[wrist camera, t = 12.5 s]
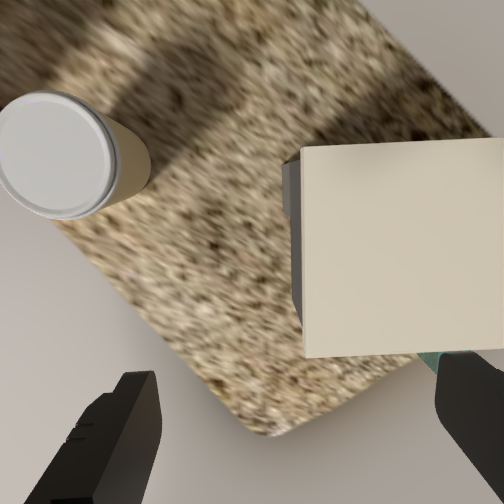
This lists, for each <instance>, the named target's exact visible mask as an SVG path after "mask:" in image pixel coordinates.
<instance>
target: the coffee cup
mask: <svg viewBox="0 0 504 504" xmlns="http://www.w3.org/2000/svg"><path fill="white" fill-rule="evenodd" d="M150 173H151V159H150V155H149V152H148V150H147V148H146V146H145V144H144V143H143V142H142V140H141V139H140V138H139V137H138V136H137V135H136V134H134V133H133V132H132V131H130V130H129V129H127V128H126V127H124V126H122V125H121V124H119V123H117V122H116V121H114V120H112V119H111V118H109V117H108V116H106V115H104V114H102V113H101V112H99V111H97V110H96V109H94V108H93V107H92V106H91V105H89V104H88V103H86V102H85V101H83V100H81V99H80V98H78V97H76V96H73V95H71V94H68V93H64V92H60V91H54V90H40V91H34V92H31V93H27V94H25V95H23V96H21V97H19V98H17V99H15V100H13V101H12V102H10V103H9V104H8V105H7V106H6V107H5V108H4V109H3V110H2V111H1V112H0V183H1V184H2V186H3V187H4V189H5V190H6V191H7V192H8V193H9V195H10V196H11V197H13V199H15V200H16V201H17V202H18V203H20V204H21V205H22V206H24V207H25V208H27V209H29V210H31V211H32V212H34V213H36V214H39V215H41V216H44V217H47V218H51V219H56V220H74V219H79V218H83V217H86V216H88V215H91V214H93V213H94V212H96V211H98V210H100V209H103V208H106V207H108V206H111V205H113V204H116V203H118V202H120V201H123V200H125V199H128V198H130V197H132V196H134V195H136V194H137V193H138V192H140V191H141V190H142V189H143V188H144V186H145V185H146V183H147V181H148V179H149V177H150Z"/></svg>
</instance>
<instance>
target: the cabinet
mask: <svg viewBox="0 0 504 504" xmlns="http://www.w3.org/2000/svg"><path fill="white" fill-rule="evenodd" d="M300 151H301V159H300V160H296V161H293V162H290V163H286V164H283V165H282V190H283V211H284V212H285V213H286V214H287V215H288V216H289V217H290V222H291V273H292V300H293V303H294V305H295V308H296V311H297V314H298V317H299V319H300V322H301V325H302V328H303V351H304V354H305V357H306V358H322V357H342V356H362V355H382V354H403V353H423V352H443V351H463V350H483V349H504V137H496V138H476V139H455V140H434V141H414V142H393V143H373V144H352V145H331V146H311V147H303V148H301V149H300Z"/></svg>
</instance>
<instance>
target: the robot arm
mask: <svg viewBox="0 0 504 504" xmlns="http://www.w3.org/2000/svg"><path fill="white" fill-rule="evenodd" d="M435 408H436V412H437V415H438V418H439V420H440V422H441V423H442V425H443V426H444V428H445V429H446V430H447V431H448V433H449V434H450V435H451V436H452V438H453V439H454V440H455V442H456V443H457V444H458V446H459V447H460V448H461V449H462V451H463V452H464V453H465V455H466V456H467V457H468V458H469V460H470V461H471V462H472V463H473V465H474V466H475V467H476V468H477V470H478V471H479V472H480V474H481V475H482V476H483V478H484V479H485V480H486V481H487V483H488V484H489V485H490V487H491V488H492V489H493V491H494V492H495V493H496V495H497V496H498V497H499V498H500V500H501V501H502V502H503V503H504V372H503V371H501V370H499V369H496V368H494V367H493V366H492V365H490V364H489V363H488V362H487V361H485V360H484V359H483V358H482V357H481V356H479V355H478V354H477V353H475V352H472V351H467V352H452V353H443V354H442V355H441V356H440V358H439V363H438V373H437V383H436V392H435ZM161 433H162V415H161V408H160V402H159V395H158V388H157V381H156V376H155V373H154V371H138V372H125V373H124V374H123V375H122V377H121V379H120V380H119V382H118V384H117V386H116V387H115V389H114V391H113V392H112V393H103V394H102V395H101V396H100V397H98V398H97V399H96V400H95V401H94V402H93V403H92V404H90V405H89V406H88V407H87V408H86V409H85V411H84V412H83V414H82V415H81V417H80V418H79V420H78V422H77V423H76V426H75V428H73V429H72V431H71V432H70V434H69V436H68V437H67V438H66V443H63V445H62V446H61V447H60V449H59V451H58V452H57V454H56V455H55V457H54V458H53V460H52V461H51V463H50V465H49V466H48V468H47V469H46V471H45V472H44V474H43V475H42V477H41V478H40V480H39V481H38V483H37V485H36V486H35V487H34V489H33V490H32V492H31V493H30V495H29V496H28V498H27V500H26V501H25V503H24V504H141V503H142V500H143V496H144V492H145V490H146V486H147V483H148V480H149V477H150V473H151V470H152V467H153V463H154V460H155V457H156V454H157V450H158V447H159V444H160V439H161Z"/></svg>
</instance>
